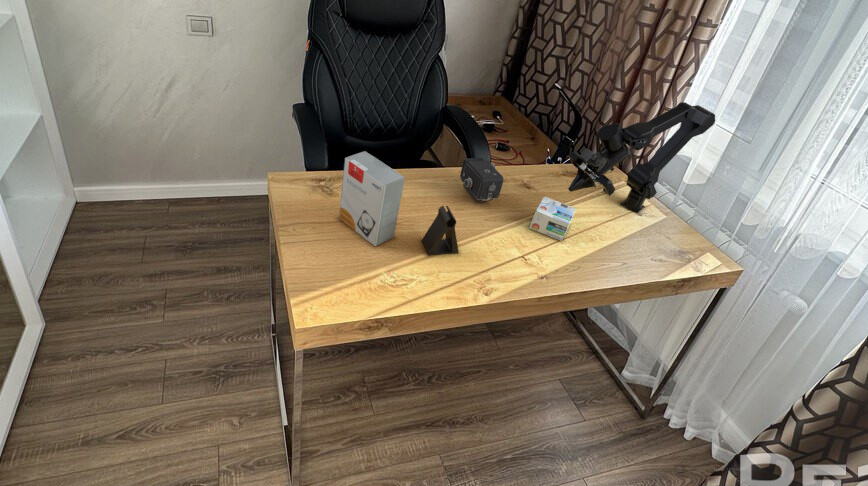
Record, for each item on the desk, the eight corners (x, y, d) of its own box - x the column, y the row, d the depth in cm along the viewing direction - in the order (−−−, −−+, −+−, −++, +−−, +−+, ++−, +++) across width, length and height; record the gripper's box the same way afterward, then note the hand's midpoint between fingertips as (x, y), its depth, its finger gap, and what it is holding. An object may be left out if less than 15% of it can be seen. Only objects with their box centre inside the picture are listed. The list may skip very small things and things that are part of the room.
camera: (499, 207, 164) (478, 179, 174) (511, 180, 157) (488, 151, 167) (471, 211, 160) (450, 181, 170) (481, 182, 153) (460, 153, 162)
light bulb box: (576, 207, 157) (570, 224, 149) (569, 225, 161) (562, 242, 152) (543, 195, 160) (535, 210, 151) (536, 213, 164) (528, 228, 155)
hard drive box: (337, 218, 143) (343, 157, 132) (358, 210, 148) (365, 149, 137) (375, 247, 136) (384, 184, 124) (395, 237, 141) (406, 175, 130)
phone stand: (427, 255, 137) (435, 219, 130) (421, 241, 141) (428, 205, 135) (458, 253, 140) (468, 218, 133) (451, 239, 144) (460, 205, 137)
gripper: (583, 128, 160) (543, 160, 162) (622, 158, 146) (578, 193, 148) (593, 149, 167) (555, 180, 169) (632, 179, 154) (590, 212, 156)
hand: (569, 190), depth 160 cm, fingers closed
